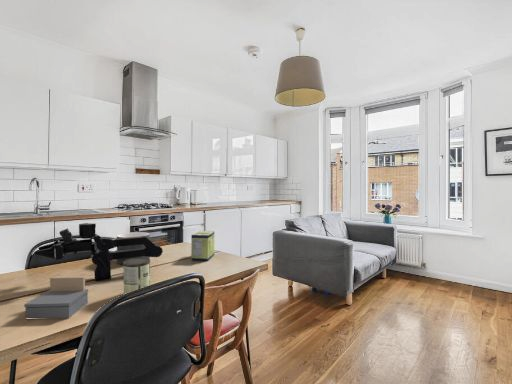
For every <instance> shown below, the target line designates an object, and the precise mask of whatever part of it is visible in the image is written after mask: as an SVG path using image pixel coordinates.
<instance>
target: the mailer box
mask: <svg viewBox="0 0 512 384" xmlns="http://www.w3.org/2000/svg"><path fill="white" fill-rule="evenodd" d="M88 293H89V292H88ZM88 293H86V294H85V295H84V296H82V297H81V298H80V299H78V300H77V301H75V302H74V303H73V304H71V305H70V306H55V307H24V308H25V319H26V318H62V319H70V318H71V317H72V315H73V314H74V315H75V314H76V313H77V312H79V311H80V310H82V308H83V306H84V307H85V306H86V305H87V304H89V303H88V302H89V301H88V299H89V297H88ZM78 310H79V311H78ZM74 315H73V316H74ZM69 317H70V318H69Z"/></svg>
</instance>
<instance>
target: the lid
mask: <svg viewBox="0 0 512 384" xmlns="http://www.w3.org/2000/svg"><path fill="white" fill-rule="evenodd" d="M86 293H89V289H88V288H87V289H86V276H51V277H50V278H49V290H46V291H45V292H43V293H42V294H39V295H38V296H36V297H34V298H33V299H31V300H30V301H27V302H26V303H24V308H26V307H55V306H70V305H71V304H73V303H74V302H75V301H77V300H78V299H80V298H81V297H82V296H84V295H85V294H86Z"/></svg>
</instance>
